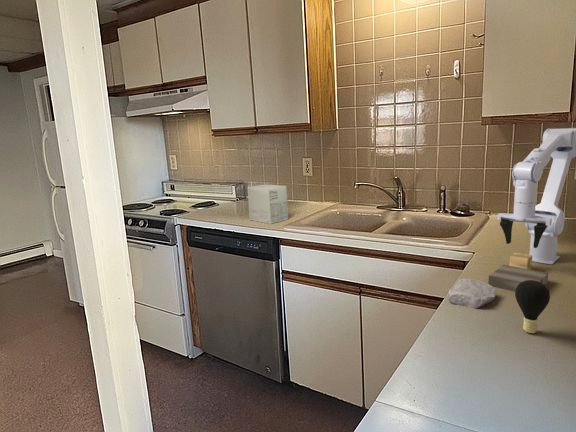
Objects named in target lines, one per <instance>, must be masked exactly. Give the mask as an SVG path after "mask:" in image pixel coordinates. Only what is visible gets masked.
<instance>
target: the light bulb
mask: <svg viewBox="0 0 576 432" xmlns="http://www.w3.org/2000/svg"><path fill="white" fill-rule="evenodd" d="M514 296H515V301H516V302H517V304H518V307H519V308H520V311H521V312H522V313H523V323H522V324H523V325H522V329H523V331H524V332H526V333H528V334H535V333H537V330H538V326H537V325H538V317H539V316H540V315H541V314H542V313H543V312H544V311H545V309H546V308H547V306H548V305H549V303H550V299H551V293H550V289H549V287H547V285H544V284H543V283H541V282H539V281H535V280H526V281H523V282H521V283H520V284H518V286H517V288H516V291H514Z"/></svg>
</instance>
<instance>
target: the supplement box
mask: <svg viewBox="0 0 576 432" xmlns="http://www.w3.org/2000/svg"><path fill="white" fill-rule="evenodd" d="M247 198H248V199H247V200H248V202H247V203H248V213H249V214H248V215H249V221H255V222H260V223H263V224H269V225H272V224H274V223H280V222H283V221H287V220H289V209H288V191H287V185H280V184H279V185H278V184H268V183H267V184H266V183H265V184H260V185H252V186H248V187H247Z"/></svg>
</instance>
